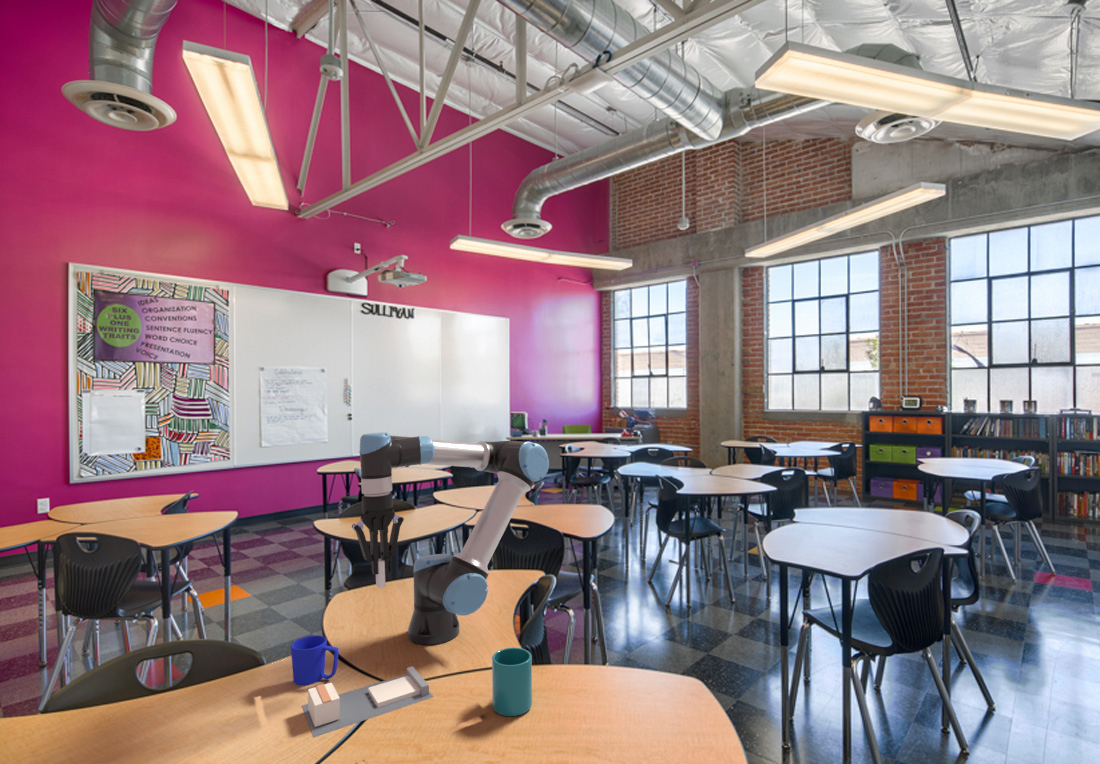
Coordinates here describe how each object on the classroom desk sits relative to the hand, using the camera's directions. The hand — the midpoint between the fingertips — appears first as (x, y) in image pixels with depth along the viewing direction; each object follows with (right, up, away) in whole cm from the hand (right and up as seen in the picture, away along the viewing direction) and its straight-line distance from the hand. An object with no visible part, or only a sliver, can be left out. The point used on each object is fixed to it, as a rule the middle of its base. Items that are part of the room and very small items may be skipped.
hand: (380, 585), depth 137 cm
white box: (-6, -21, -19) cm, 29 cm away
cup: (+35, -22, -13) cm, 43 cm away
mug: (-15, -23, -4) cm, 28 cm away
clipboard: (+2, -22, -14) cm, 27 cm away
